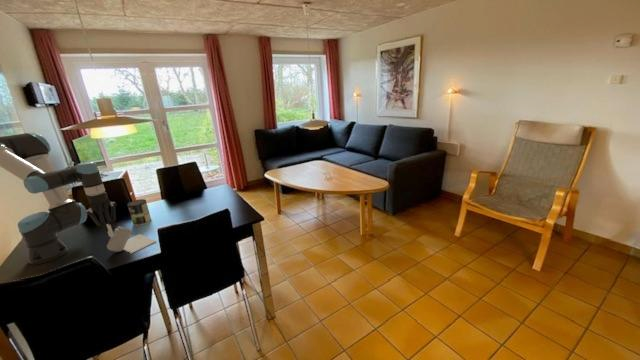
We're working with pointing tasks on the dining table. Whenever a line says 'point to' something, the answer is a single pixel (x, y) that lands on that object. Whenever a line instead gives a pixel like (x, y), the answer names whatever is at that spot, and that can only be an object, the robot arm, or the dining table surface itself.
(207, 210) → the dining table surface
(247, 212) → the dining table surface
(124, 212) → the dining table surface
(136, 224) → the coffee can
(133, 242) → the mat
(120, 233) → the can
